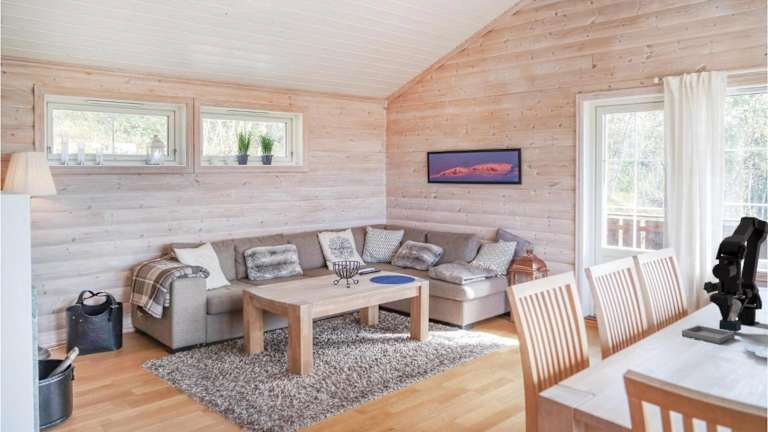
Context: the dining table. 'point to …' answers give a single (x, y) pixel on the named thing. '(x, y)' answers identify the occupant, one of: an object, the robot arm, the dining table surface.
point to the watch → (732, 318)
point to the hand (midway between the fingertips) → (730, 319)
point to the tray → (708, 334)
